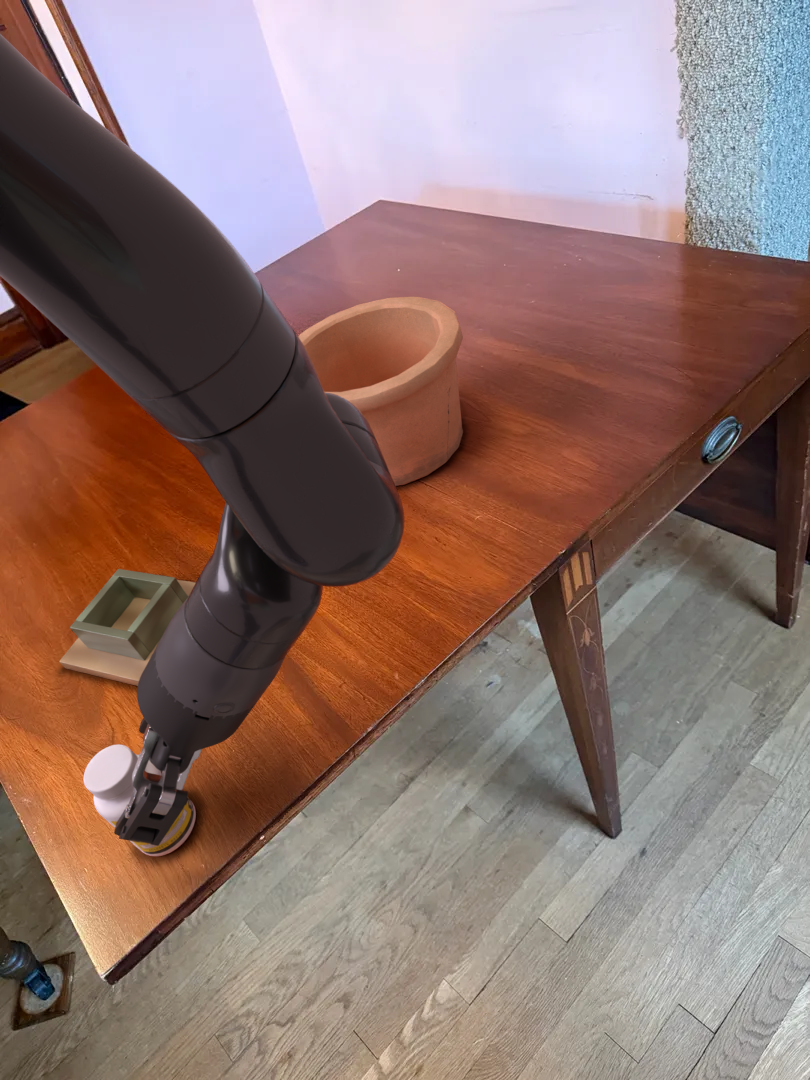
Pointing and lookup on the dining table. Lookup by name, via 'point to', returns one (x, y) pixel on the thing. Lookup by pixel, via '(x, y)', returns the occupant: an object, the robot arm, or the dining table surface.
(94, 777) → the supplement bottle
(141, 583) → the holder
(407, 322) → the pottery
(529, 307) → the dining table surface
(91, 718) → the dining table surface
